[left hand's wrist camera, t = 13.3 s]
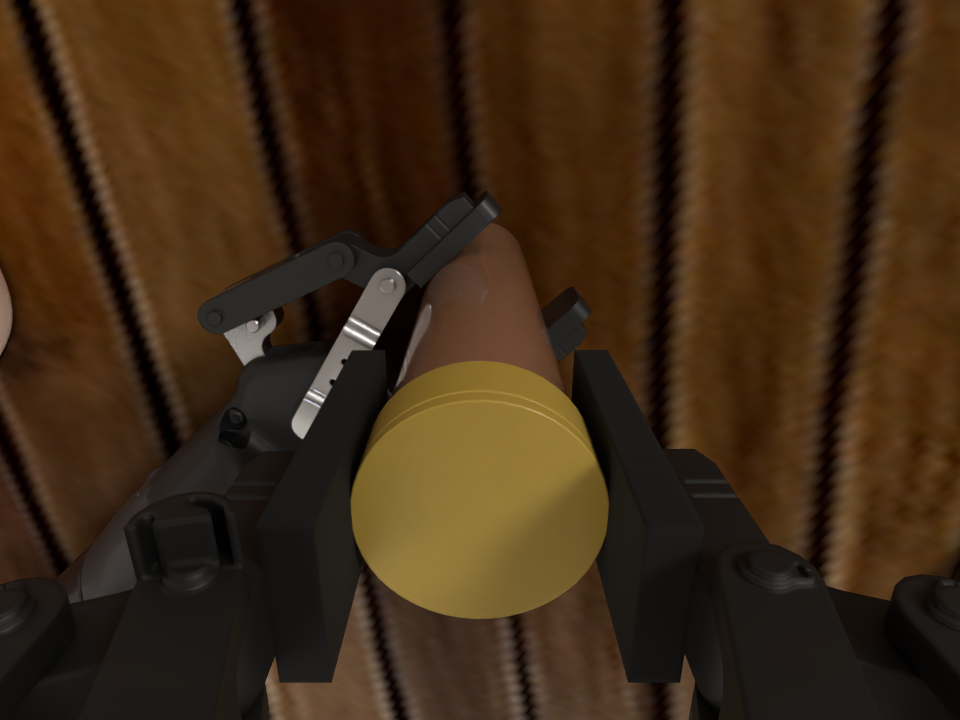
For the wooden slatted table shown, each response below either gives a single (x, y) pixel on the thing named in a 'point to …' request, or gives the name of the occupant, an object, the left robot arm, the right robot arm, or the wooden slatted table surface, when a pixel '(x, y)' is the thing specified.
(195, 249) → the wooden slatted table surface
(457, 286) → the brown long cylinder
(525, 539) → the lid
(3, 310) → the anatomical model
